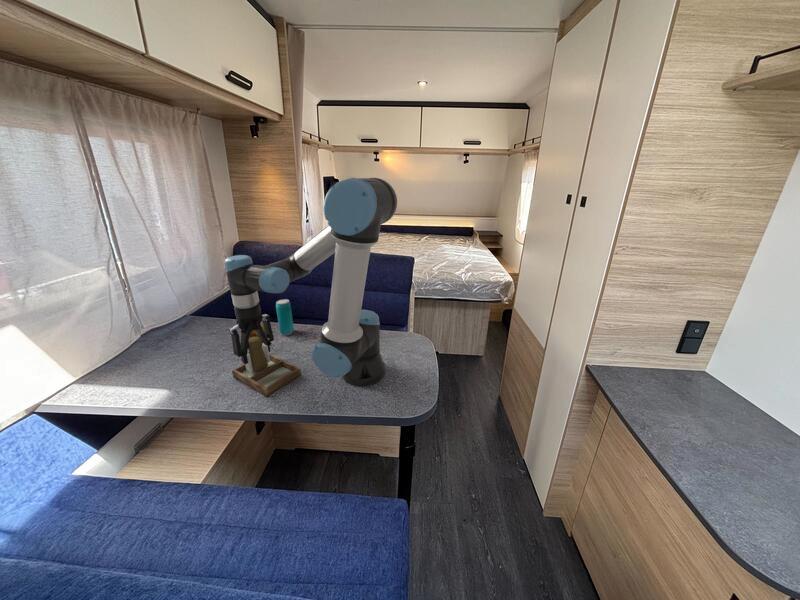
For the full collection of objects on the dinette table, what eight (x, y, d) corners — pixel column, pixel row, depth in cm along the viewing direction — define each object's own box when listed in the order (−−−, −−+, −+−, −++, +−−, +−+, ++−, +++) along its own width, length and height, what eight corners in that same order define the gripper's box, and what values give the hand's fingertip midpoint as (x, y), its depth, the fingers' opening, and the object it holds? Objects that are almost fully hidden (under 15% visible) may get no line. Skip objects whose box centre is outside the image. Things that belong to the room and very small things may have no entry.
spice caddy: (301, 375, 108) (300, 368, 107) (266, 397, 97) (265, 389, 96) (268, 359, 117) (266, 352, 116) (233, 377, 107) (231, 370, 106)
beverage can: (296, 330, 138) (292, 299, 133) (290, 336, 133) (286, 304, 128) (283, 329, 139) (279, 298, 133) (277, 336, 134) (272, 303, 128)
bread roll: (265, 336, 141) (260, 319, 140) (271, 336, 132) (266, 317, 132) (242, 343, 135) (236, 326, 134) (246, 343, 126) (240, 324, 126)
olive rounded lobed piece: (271, 363, 110) (267, 336, 106) (259, 373, 105) (253, 344, 101) (258, 360, 112) (252, 333, 108) (245, 369, 107) (239, 341, 103)
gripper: (265, 293, 109) (275, 350, 118) (210, 311, 94) (225, 375, 103) (279, 297, 105) (288, 356, 114) (223, 317, 90) (239, 383, 99)
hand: (258, 365), depth 109 cm, fingers closed on olive rounded lobed piece, 6 cm apart
